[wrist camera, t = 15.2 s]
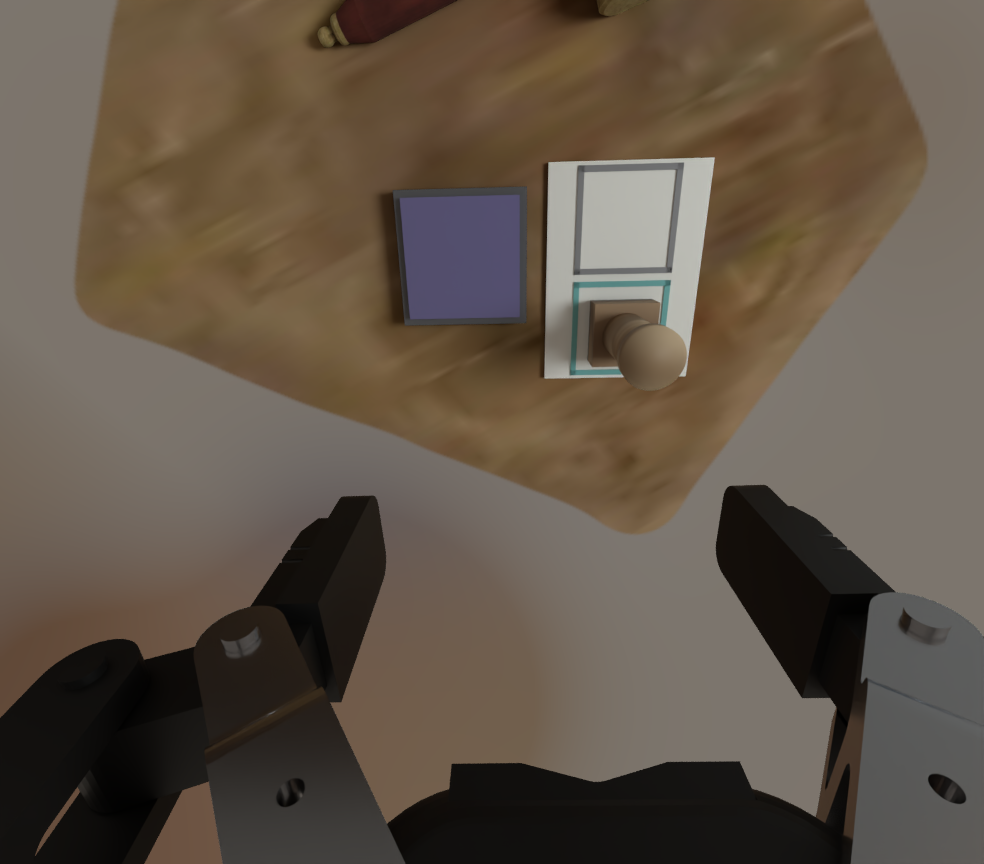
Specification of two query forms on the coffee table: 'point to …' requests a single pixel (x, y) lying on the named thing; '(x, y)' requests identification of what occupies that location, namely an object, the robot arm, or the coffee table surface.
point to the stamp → (635, 342)
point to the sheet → (621, 248)
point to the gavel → (404, 17)
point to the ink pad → (462, 255)
